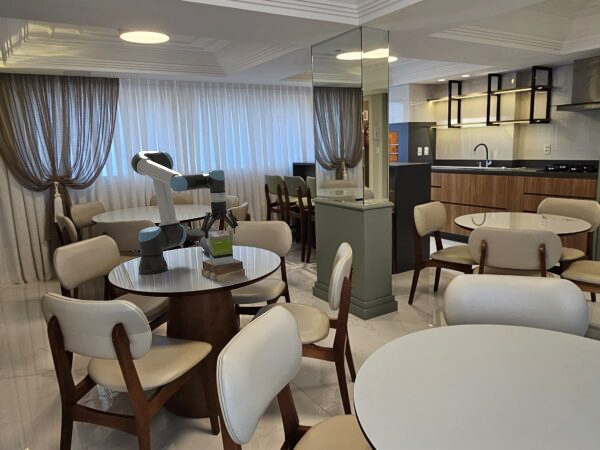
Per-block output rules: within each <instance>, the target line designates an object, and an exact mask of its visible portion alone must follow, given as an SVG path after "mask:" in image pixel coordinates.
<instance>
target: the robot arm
mask: <svg viewBox="0 0 600 450" xmlns="http://www.w3.org/2000/svg"><path fill="white" fill-rule="evenodd" d="M130 165H131V169H132V170H133V171H134V172H135V173H137V174H139V175H141V176H143V177H144V176H148V177H149V178H150V179H151V180H152V182H153V188H154V192H155V198H156V202H157V203H156V204H157V209H158V213H159V217H160V218H159V219H160V222H159V224H158V226H151V227H150V226H149V227H145V228H142V229H141V230H140V231H139V232H138V245H139V253H140V261H139V264H138V273H139V274H142V275H155V274H161V273H163V272H166V271H168V269H169V268H168V263H167V260H166V259H165V256H164V250H167V249H171V248H174V247H178V246H181V245H183V244H184V243H185V241H186V239H187V230H186V227H185V226H184V225H182V224H181V221H179V220H178V219H177V214H176V211H175V204H174V198H173V193H172V191H174V192H179V193H181V192H186V191H195V190H202V189H203V190H205V189H206V190H207V189H209V196H210V210H211V211H205V217H204V219H203V222H202V225H201V228H200V232H203V233H204V236H205V238H206V240H207V245H211V241H210V232H211V231H210V230H211V228H212V226H213V225H214V223H215V222H216V221H219V220H224V221H225V223H227V224H228V226H229V234H230V235H231V236H232V242H234V241H235V234H236V228H237V227H238V226H239V224H238V222H237V219H236V218H235V216H234V214H233V210H232V209H231V208H227V201H226V200H227V197H226V195H227V194H226V177H225V171H224V170H223V169H210V170H209V171H208V173H195V174H182V173H181V172H177V171H176V170H173V169H174V166H175V165H174V161H173V158H172V156H171V154H170V153H168V151H167V152H166V151H161V150H155V151H153V150H152V151H139V152H137V153H136V154H134V155H133V156H132V158H131V162H130ZM227 215H228V216H229V217H228V216H227Z"/></svg>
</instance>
